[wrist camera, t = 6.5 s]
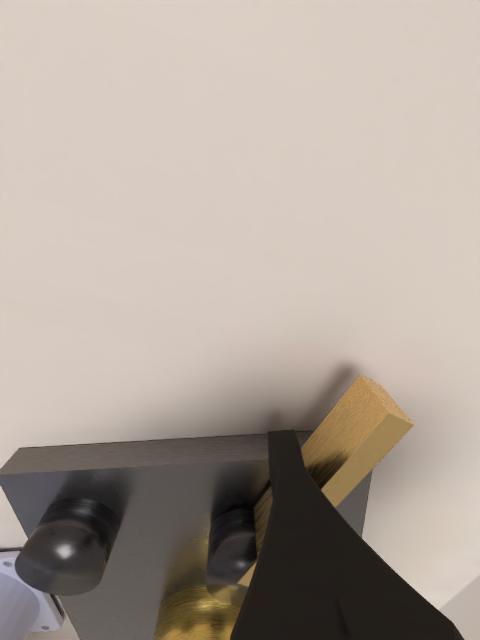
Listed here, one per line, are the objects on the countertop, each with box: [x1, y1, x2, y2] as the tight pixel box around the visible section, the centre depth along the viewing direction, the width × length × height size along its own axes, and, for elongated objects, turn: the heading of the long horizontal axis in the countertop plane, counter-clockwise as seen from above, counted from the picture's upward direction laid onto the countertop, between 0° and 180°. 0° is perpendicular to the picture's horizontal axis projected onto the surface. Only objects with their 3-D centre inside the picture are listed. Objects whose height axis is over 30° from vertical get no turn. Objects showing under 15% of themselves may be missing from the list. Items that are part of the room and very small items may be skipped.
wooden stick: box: [205, 375, 413, 607], centre depth 12 cm, size 12×4×2 cm, turn 152°
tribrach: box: [0, 431, 372, 640], centre depth 15 cm, size 17×20×5 cm
